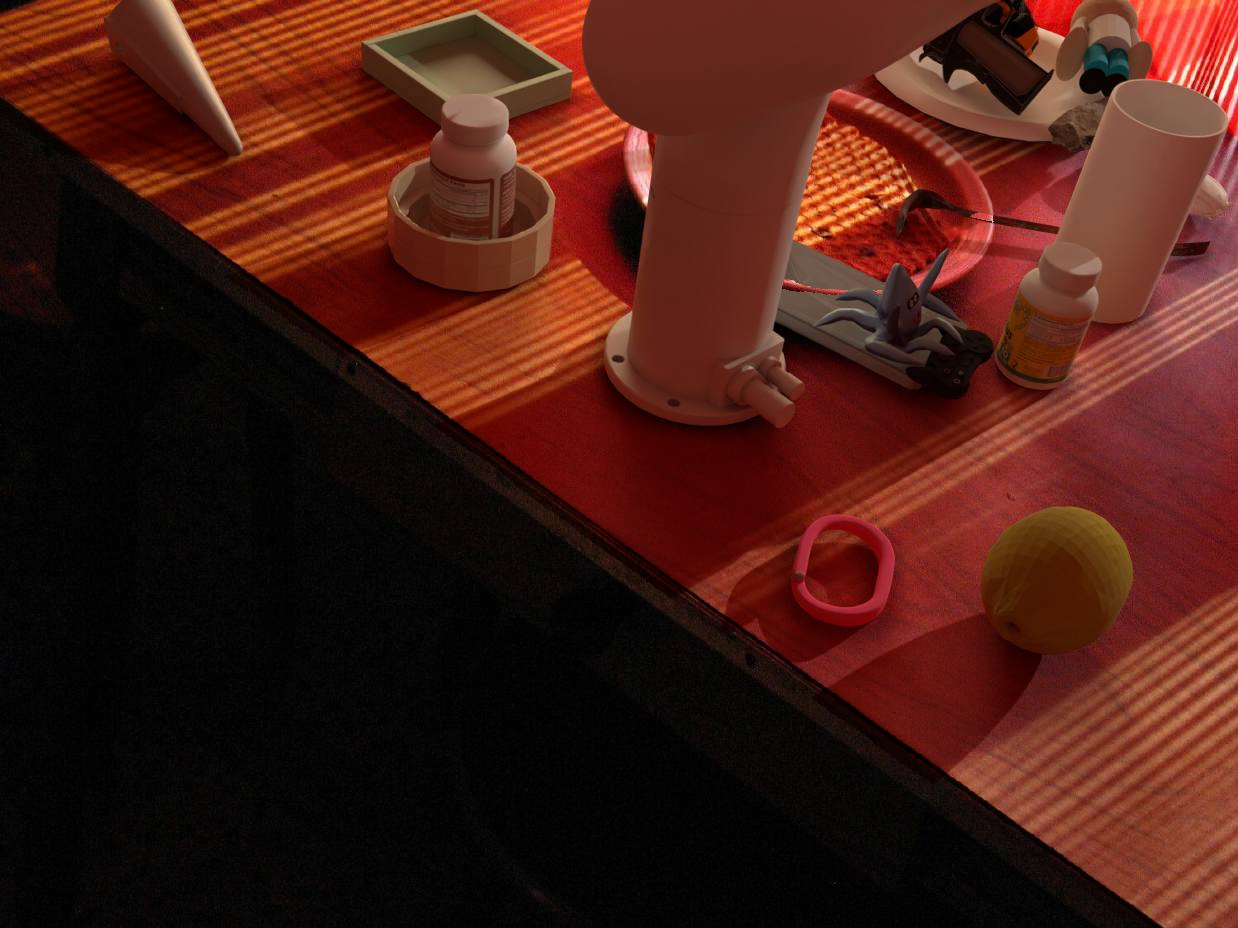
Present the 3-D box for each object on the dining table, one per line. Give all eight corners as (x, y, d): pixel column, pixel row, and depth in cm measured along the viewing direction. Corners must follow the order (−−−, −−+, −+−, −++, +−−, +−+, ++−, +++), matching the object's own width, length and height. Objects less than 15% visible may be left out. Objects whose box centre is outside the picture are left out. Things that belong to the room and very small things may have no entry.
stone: (1107, 106, 128) (1109, 76, 126) (1157, 115, 125) (1160, 85, 123) (1030, 155, 121) (1032, 124, 119) (1081, 166, 118) (1084, 134, 116)
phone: (728, 284, 102) (726, 298, 103) (921, 381, 96) (916, 394, 97) (786, 235, 107) (783, 249, 107) (973, 324, 101) (968, 338, 101)
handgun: (1117, -51, 127) (995, -95, 130) (1031, 110, 122) (906, 61, 125) (1111, -33, 129) (991, -76, 132) (1026, 126, 125) (904, 78, 128)
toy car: (1113, 151, 125) (1125, 117, 122) (1234, 211, 119) (1249, 177, 117) (1084, 169, 122) (1096, 135, 120) (1206, 231, 117) (1221, 197, 114)
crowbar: (902, 213, 109) (899, 180, 113) (894, 237, 111) (892, 204, 115) (1225, 268, 109) (1212, 233, 113) (1213, 291, 111) (1201, 256, 115)
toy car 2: (904, 66, 129) (906, 90, 132) (1038, 58, 126) (1037, 84, 129) (912, -27, 135) (914, -2, 137) (1041, -36, 131) (1040, -10, 134)
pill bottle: (480, 211, 107) (486, 80, 99) (528, 251, 104) (538, 118, 96) (412, 234, 104) (412, 100, 96) (459, 276, 100) (463, 141, 93)
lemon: (1034, 548, 87) (1077, 455, 81) (1137, 628, 83) (1189, 536, 77) (920, 624, 81) (958, 529, 76) (1025, 713, 77) (1072, 620, 72)
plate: (849, 121, 124) (853, 104, 123) (872, 6, 142) (876, -10, 141) (1129, 179, 122) (1136, 162, 121) (1117, 54, 140) (1123, 38, 139)
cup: (1146, 275, 111) (1226, 94, 100) (1146, 334, 105) (1232, 148, 94) (1043, 251, 112) (1112, 69, 101) (1038, 308, 106) (1110, 121, 95)
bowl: (583, 260, 104) (588, 210, 101) (455, 316, 98) (456, 263, 95) (484, 187, 110) (486, 137, 107) (357, 234, 104) (355, 182, 100)
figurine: (832, 301, 102) (871, 208, 98) (983, 371, 100) (1030, 279, 96) (794, 349, 95) (835, 251, 90) (956, 426, 92) (1006, 329, 88)
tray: (570, 98, 122) (573, 71, 120) (455, 137, 115) (456, 109, 113) (475, 35, 129) (476, 9, 127) (361, 69, 122) (361, 41, 120)
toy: (1071, 37, 123) (1070, -28, 134) (1048, 98, 127) (1049, 30, 138) (1165, 59, 122) (1157, -8, 133) (1139, 119, 127) (1133, 49, 137)
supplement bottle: (1058, 401, 98) (1105, 291, 91) (985, 376, 99) (1026, 265, 92) (1072, 360, 101) (1118, 251, 95) (1001, 336, 103) (1042, 227, 96)
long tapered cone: (296, 97, 109) (168, -20, 117) (225, 127, 106) (99, 5, 114) (303, 154, 114) (180, 37, 122) (235, 185, 111) (113, 63, 119)
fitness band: (805, 517, 86) (810, 500, 85) (897, 543, 86) (903, 526, 85) (780, 612, 81) (785, 595, 80) (878, 640, 80) (884, 623, 79)
